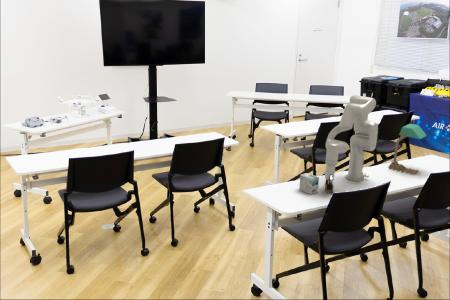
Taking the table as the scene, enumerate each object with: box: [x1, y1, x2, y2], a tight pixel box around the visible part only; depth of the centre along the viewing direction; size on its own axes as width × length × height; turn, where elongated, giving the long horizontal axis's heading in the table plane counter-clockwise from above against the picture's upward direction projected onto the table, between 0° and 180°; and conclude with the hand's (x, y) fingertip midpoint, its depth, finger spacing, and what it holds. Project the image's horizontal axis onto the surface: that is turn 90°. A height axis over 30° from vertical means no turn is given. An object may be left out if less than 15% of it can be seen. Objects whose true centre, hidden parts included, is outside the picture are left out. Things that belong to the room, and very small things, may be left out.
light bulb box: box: [298, 172, 320, 195], centre depth 291 cm, size 11×7×11 cm, turn 40°
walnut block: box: [323, 182, 334, 195], centre depth 291 cm, size 5×5×5 cm
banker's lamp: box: [387, 123, 427, 175], centre depth 334 cm, size 16×21×35 cm
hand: (328, 187), depth 291 cm, fingers open, 9 cm apart
